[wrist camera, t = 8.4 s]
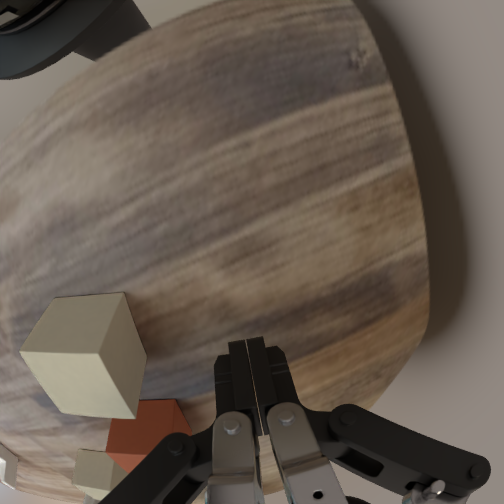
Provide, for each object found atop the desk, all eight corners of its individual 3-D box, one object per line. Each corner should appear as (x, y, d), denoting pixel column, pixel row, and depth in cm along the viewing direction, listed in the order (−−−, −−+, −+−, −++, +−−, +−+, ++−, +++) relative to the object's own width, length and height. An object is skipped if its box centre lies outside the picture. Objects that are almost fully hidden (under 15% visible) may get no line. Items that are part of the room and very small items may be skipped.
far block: (78, 448, 22) (71, 483, 18) (115, 452, 23) (110, 491, 18) (98, 466, 24) (94, 499, 20) (133, 470, 25) (131, 504, 20)
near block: (54, 297, 14) (18, 351, 10) (124, 291, 15) (98, 353, 10) (82, 357, 17) (61, 413, 12) (147, 356, 17) (136, 419, 12)
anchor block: (115, 400, 19) (104, 452, 14) (175, 398, 19) (172, 455, 14) (138, 431, 21) (133, 478, 16) (192, 430, 21) (192, 479, 17)
